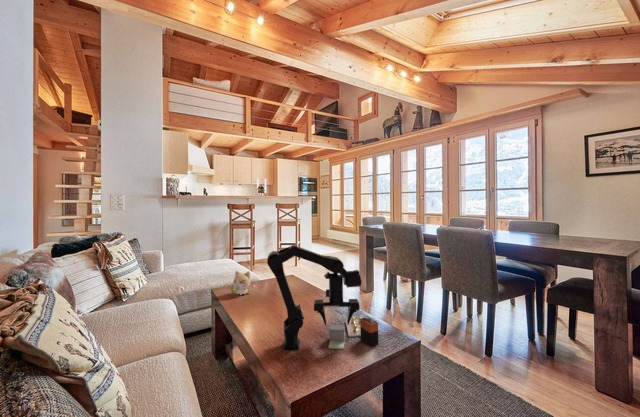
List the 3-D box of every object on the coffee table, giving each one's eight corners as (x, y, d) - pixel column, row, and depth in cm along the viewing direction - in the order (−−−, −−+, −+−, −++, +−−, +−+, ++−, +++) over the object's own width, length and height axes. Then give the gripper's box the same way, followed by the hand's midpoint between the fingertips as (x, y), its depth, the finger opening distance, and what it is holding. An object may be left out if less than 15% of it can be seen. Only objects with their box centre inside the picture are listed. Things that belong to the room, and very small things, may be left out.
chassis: (371, 336, 115) (371, 328, 115) (348, 336, 115) (348, 328, 115) (366, 321, 129) (366, 314, 129) (345, 322, 129) (345, 314, 129)
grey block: (343, 349, 106) (343, 334, 105) (328, 348, 106) (328, 334, 106) (345, 334, 117) (345, 321, 117) (331, 333, 118) (331, 320, 118)
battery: (368, 337, 114) (367, 314, 114) (379, 344, 108) (378, 320, 108) (360, 339, 112) (359, 316, 112) (370, 347, 106) (370, 322, 106)
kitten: (226, 296, 169) (226, 272, 169) (236, 290, 179) (235, 268, 179) (247, 297, 165) (246, 273, 165) (256, 292, 175) (255, 269, 174)
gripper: (355, 281, 119) (356, 316, 120) (314, 282, 119) (314, 317, 120) (359, 290, 108) (360, 328, 109) (313, 291, 108) (314, 329, 109)
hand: (336, 325), depth 112 cm, fingers open, 9 cm apart
